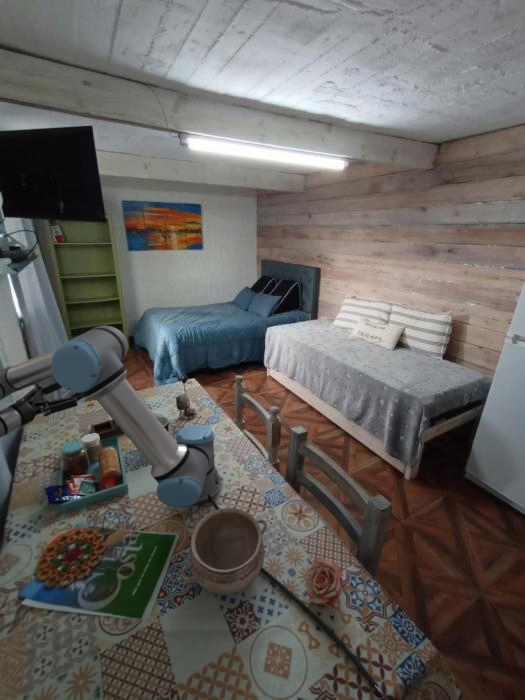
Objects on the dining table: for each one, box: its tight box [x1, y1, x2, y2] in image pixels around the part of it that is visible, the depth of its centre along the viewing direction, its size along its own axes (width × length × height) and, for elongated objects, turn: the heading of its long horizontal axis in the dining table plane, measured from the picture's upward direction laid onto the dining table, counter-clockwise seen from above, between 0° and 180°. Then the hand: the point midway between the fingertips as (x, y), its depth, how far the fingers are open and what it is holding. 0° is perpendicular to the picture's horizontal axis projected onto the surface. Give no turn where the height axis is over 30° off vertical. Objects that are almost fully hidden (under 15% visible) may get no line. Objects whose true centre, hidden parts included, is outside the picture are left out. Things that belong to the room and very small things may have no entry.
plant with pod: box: [175, 374, 198, 421], centre depth 147 cm, size 8×11×20 cm
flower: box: [306, 557, 344, 609], centre depth 77 cm, size 10×9×8 cm
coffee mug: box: [156, 415, 170, 433], centre depth 131 cm, size 12×9×10 cm
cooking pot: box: [179, 507, 268, 596], centre depth 81 cm, size 25×19×12 cm
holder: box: [90, 419, 125, 441], centre depth 138 cm, size 8×16×3 cm, turn 124°
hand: (74, 387), depth 116 cm, fingers open, 13 cm apart
